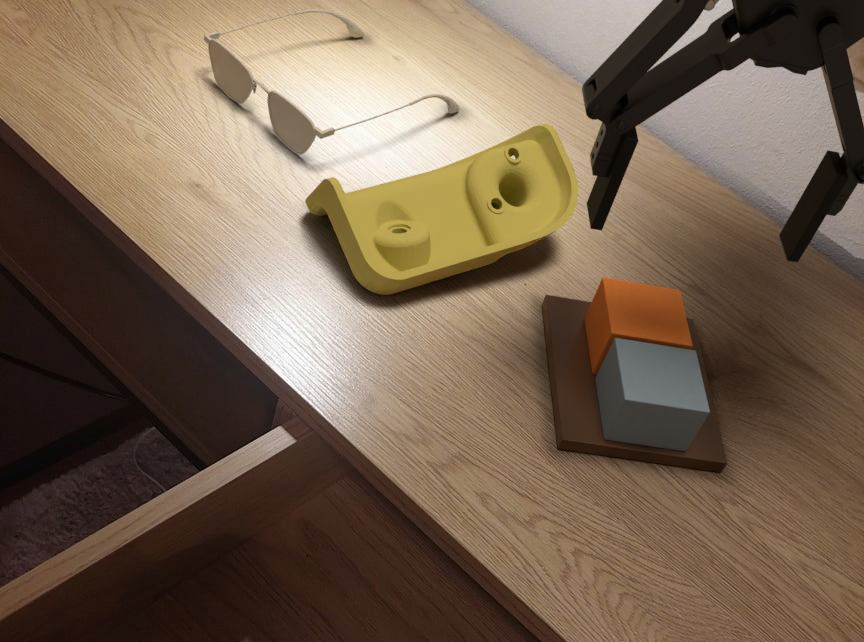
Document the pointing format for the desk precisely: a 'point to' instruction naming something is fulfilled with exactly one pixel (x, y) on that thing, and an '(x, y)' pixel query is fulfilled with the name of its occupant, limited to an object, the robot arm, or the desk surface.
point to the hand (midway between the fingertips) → (692, 233)
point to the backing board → (580, 397)
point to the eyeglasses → (283, 113)
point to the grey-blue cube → (651, 395)
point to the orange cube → (634, 317)
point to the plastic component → (452, 212)
